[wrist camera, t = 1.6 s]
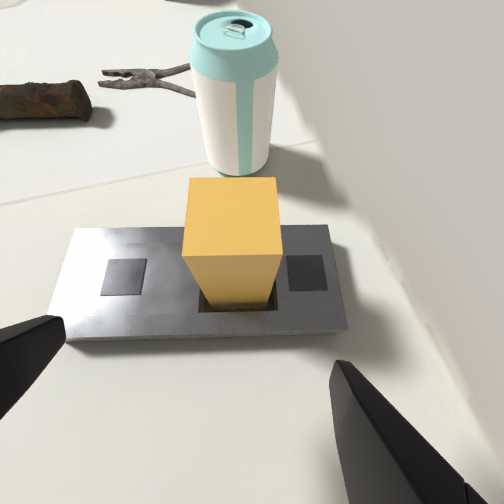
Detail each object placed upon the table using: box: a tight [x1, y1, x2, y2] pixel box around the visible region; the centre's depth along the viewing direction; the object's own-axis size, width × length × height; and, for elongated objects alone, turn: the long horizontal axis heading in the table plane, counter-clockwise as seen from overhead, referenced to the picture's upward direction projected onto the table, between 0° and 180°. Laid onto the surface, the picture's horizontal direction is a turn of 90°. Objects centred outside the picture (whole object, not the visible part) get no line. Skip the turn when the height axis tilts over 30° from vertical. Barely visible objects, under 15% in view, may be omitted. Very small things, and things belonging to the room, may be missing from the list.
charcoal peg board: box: [47, 225, 348, 342], centre depth 20 cm, size 9×22×3 cm, turn 92°
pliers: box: [98, 63, 196, 98], centre depth 34 cm, size 10×1×20 cm
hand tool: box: [0, 80, 92, 122], centre depth 29 cm, size 19×4×5 cm, turn 92°
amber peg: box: [182, 177, 283, 310], centre depth 17 cm, size 4×4×11 cm
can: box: [189, 10, 278, 176], centre depth 23 cm, size 7×7×12 cm
